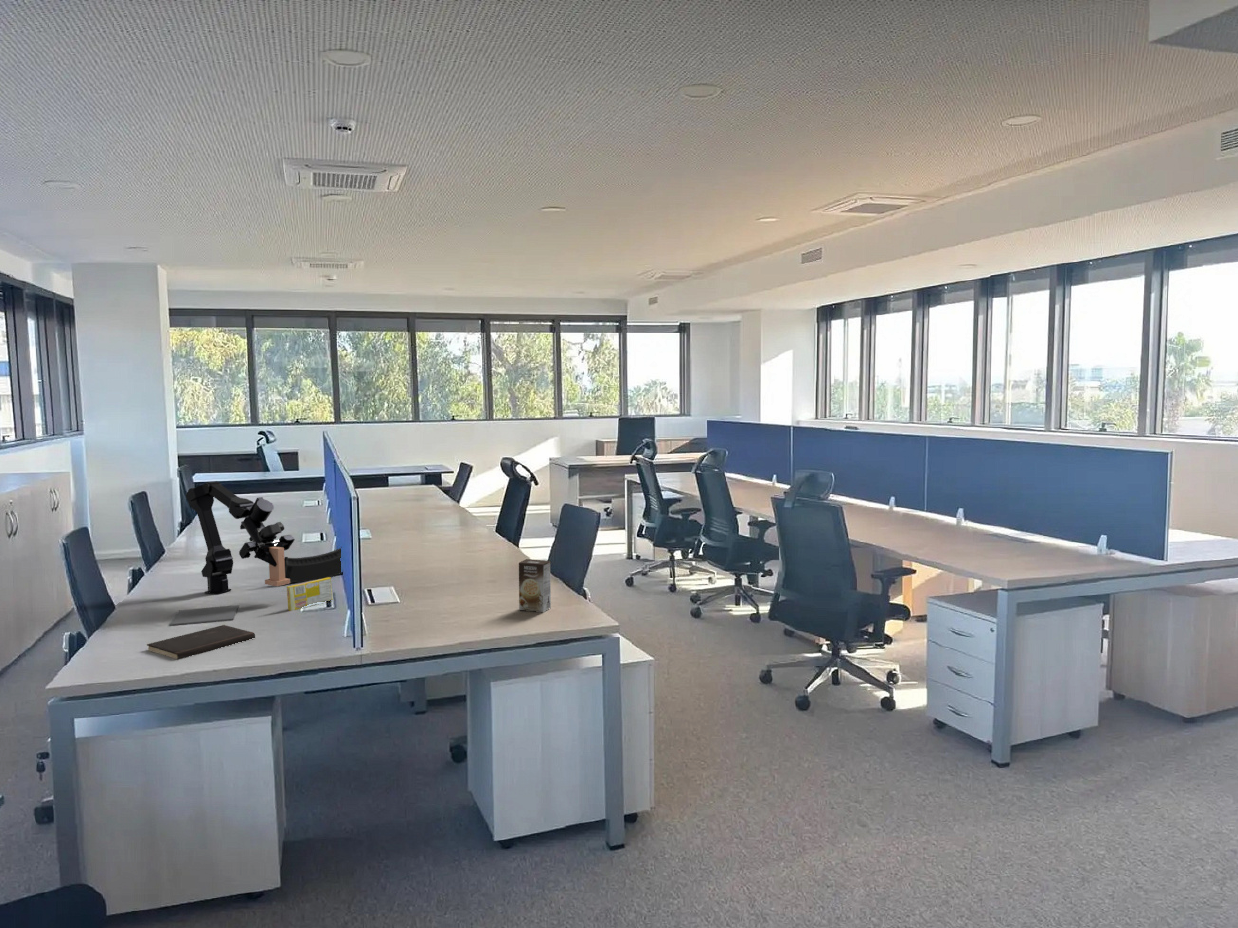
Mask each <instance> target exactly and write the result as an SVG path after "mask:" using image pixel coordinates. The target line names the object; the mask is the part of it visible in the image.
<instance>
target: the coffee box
mask: <svg viewBox="0 0 1238 928" xmlns="http://www.w3.org/2000/svg"><path fill="white" fill-rule="evenodd" d="M551 581H552V580H551V561H550V560H542V559H531V558H530V559H529V558H526V559H524V560H521V561H519V562H518V611H520V610H526V611H525V612H530V611H536V612H535V613H541V612H544V613H546V612H547V611H548V609H549V608H550V609H552V606H551V605H552V604H551V603H552V602H551V593H552V592H551V587H552V586H551V585H552V584H551ZM550 609H549V610H550ZM546 610H547V611H546Z"/></svg>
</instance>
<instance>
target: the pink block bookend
mask: <svg viewBox="0 0 1238 928" xmlns="http://www.w3.org/2000/svg"><path fill="white" fill-rule="evenodd" d="M269 551H270V553H271V555H272V556H273V558H274V560H275V561H276V563H277V566H276V567H274V566H273V565H271V564H269V563H268V565H269V566H268V575H269V578H267V579H264V585H267V586H272V587H273V586H275V587H280V586H281V587H282V586H284V585H288V584H291V582H290V579H288V578H285V561H284V558H285V551H284V548H282V547H269Z"/></svg>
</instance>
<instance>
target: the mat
mask: <svg viewBox="0 0 1238 928" xmlns="http://www.w3.org/2000/svg"><path fill="white" fill-rule="evenodd" d="M238 609H239V605H238V604H236V605H235V604H234V605H227V606H225V605H224V606H214V607H204V608H203V607H201V608H192V609H179V610H178V611H177V613H176V614H175V616H174V617H173V619H172V620H171V622H170V623H169V626H170V627H171V626H172V627H173V626H174V627H175V626H183V625H184V626H185V625H193V624H194V625H195V624H206V623H216V621H218V622H226V621H227V620H229V621H234V620H233V619H235V616H236V614H237V611H238ZM227 622H228V621H227Z"/></svg>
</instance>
